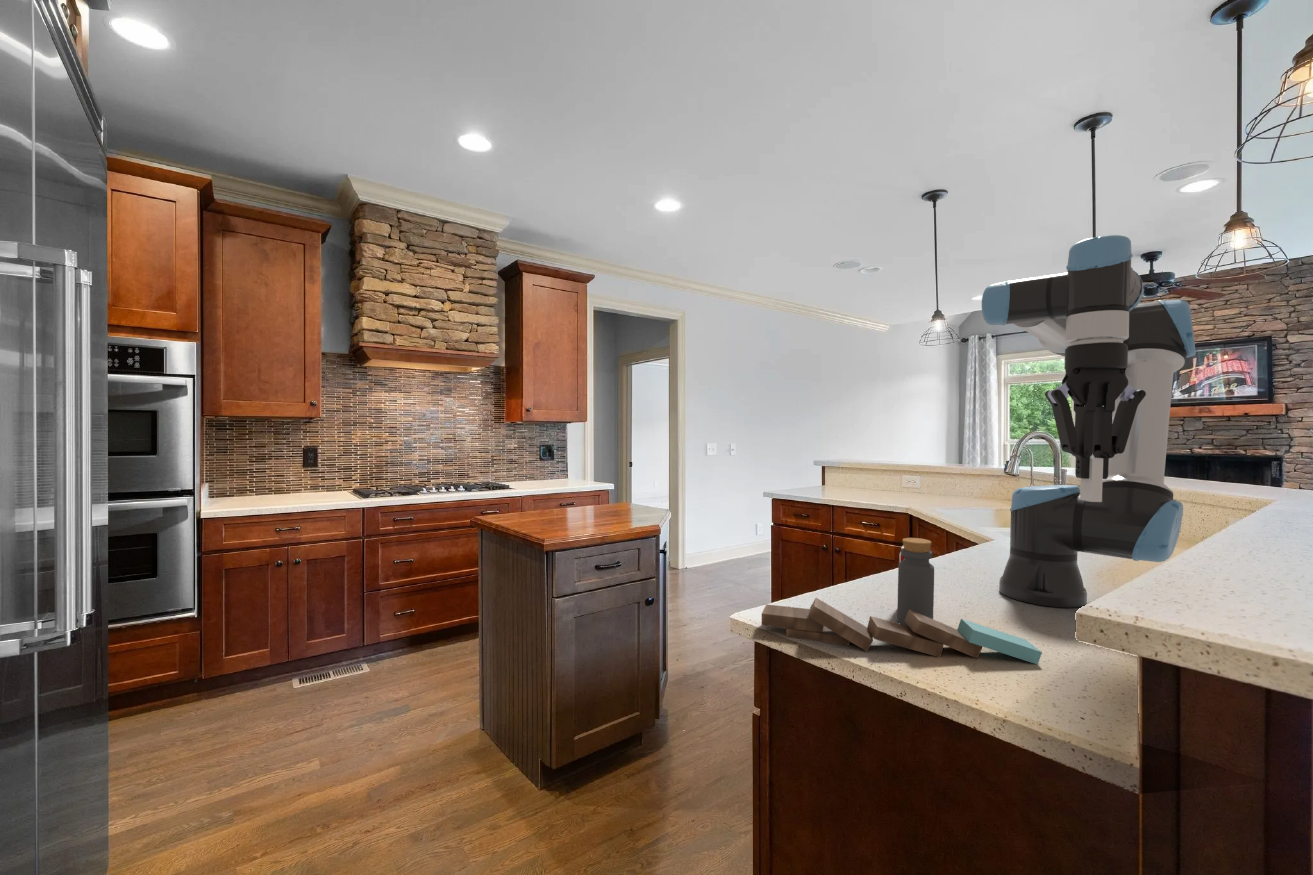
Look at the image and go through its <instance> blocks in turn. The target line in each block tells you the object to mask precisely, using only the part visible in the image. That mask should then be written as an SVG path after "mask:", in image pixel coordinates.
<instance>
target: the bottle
mask: <svg viewBox="0 0 1313 875" xmlns="http://www.w3.org/2000/svg"><path fill="white" fill-rule="evenodd" d="M902 544H903V545H902V546H904V548H900V551H901V555H903V556H904V560H903V561H901V562H900V563H899V562H898V569H897V571H898V572H897V573H898V574H897V578H898V579H897V605H896V606H897V614H896V615H897V623H898V624H902V625H905V626H908V625H907V623H906V622H905V621H904V620H905V617H906V615H907V613H908V611H909V610H912V611H914V612H916V613H919V614H921V615H924V616H926V617H928V618H931V619H933V620H934V605H935V604H934V603H935V601H934V599H935V594H934V593H935V567H934V565H933V564H932V563H930V559H932V558H933V551H932V550H931V546H932V541H931V540H929V539H925V538H921V537H920V538H918V537H905V538H902Z"/></svg>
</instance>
